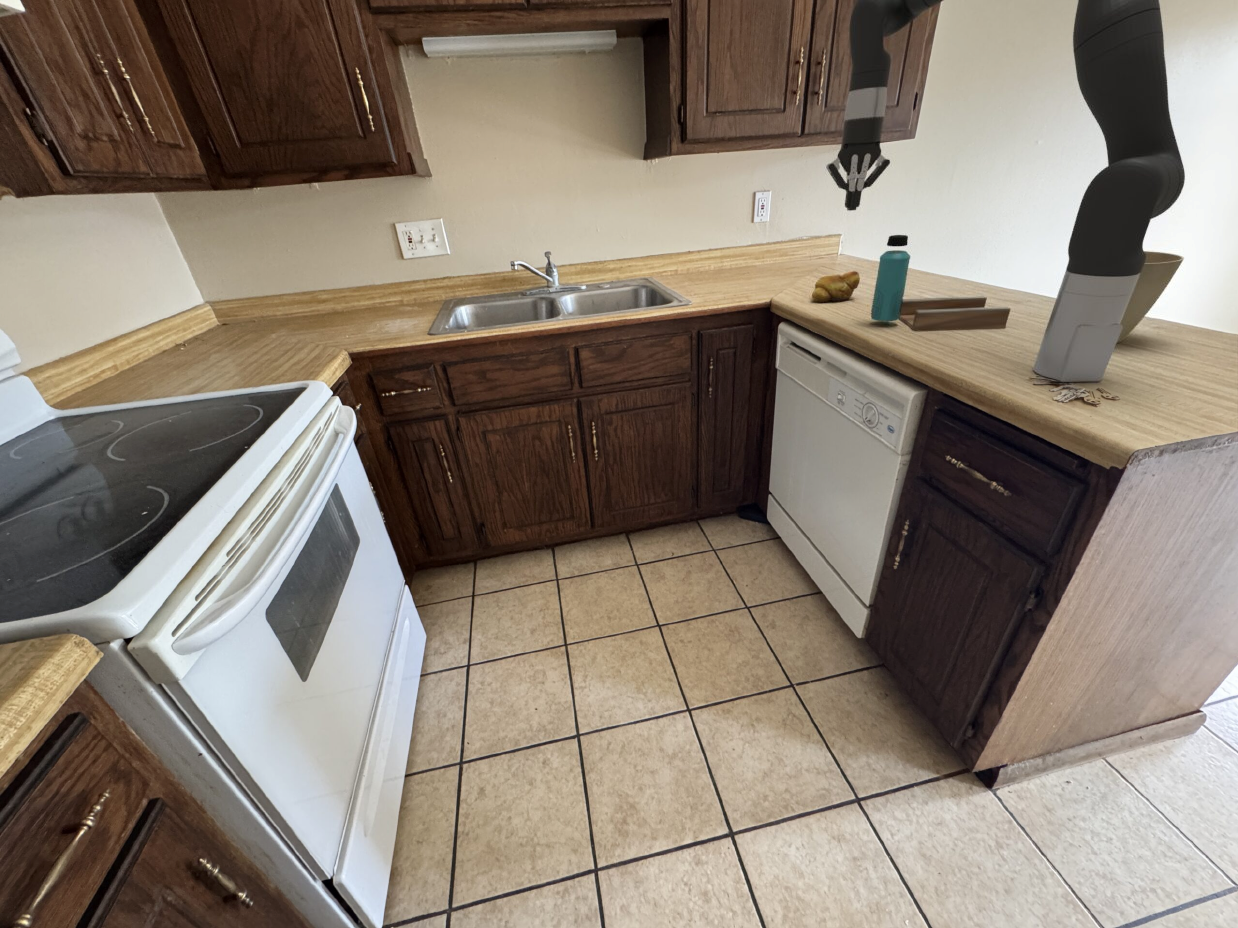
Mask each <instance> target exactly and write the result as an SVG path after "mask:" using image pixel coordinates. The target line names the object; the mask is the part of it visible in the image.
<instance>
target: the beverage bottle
mask: <svg viewBox="0 0 1238 928" xmlns="http://www.w3.org/2000/svg"><path fill="white" fill-rule="evenodd" d="M908 238H909V236H908V235H907V234H905V235H904V234H893V235H889V236H888V238H887V243H886V246H888V247H906V246H908V241H909V239H908ZM910 259H911V255H910V254H909V253H908V252H907V251H906V250H899V249H898V250H887V251H884V253H883V254H881V255H880V256H879V263H878V270H877V275H876V276H877V277H876V281H875V287H874V292H873V299H872V303H871V307H870V308H871V309H870V317H871V320H873V321H879V322H894V321H895V322H896V321H898V320H900V319H899V317H900V311H901V309H902V308H901V305H902V304H903V303H902V301H903V299H904V295H905V291H906V283H907V281H908V280H907V275H908V271H909V270H908V269H909V265H910Z"/></svg>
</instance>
